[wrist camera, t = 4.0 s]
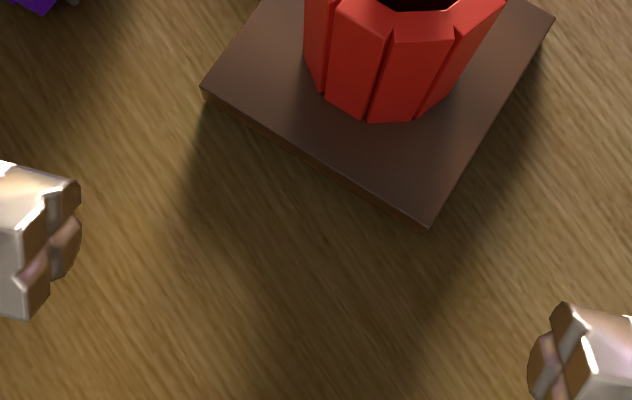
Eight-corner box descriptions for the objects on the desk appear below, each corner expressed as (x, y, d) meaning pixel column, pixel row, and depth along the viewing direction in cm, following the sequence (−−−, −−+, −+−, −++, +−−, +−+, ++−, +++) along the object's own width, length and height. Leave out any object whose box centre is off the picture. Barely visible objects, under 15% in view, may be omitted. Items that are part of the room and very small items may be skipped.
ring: (411, 153, 24) (456, 82, 17) (273, 69, 25) (265, -31, 18) (487, 32, 25) (558, -79, 19) (354, -46, 26) (376, -180, 19)
